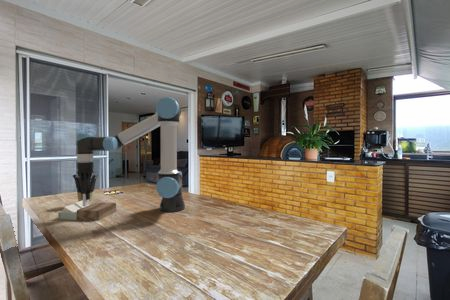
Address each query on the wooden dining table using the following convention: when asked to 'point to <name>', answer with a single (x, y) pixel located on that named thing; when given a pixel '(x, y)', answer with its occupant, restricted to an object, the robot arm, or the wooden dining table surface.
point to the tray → (67, 216)
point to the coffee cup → (81, 197)
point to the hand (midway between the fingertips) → (85, 205)
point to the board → (96, 211)
